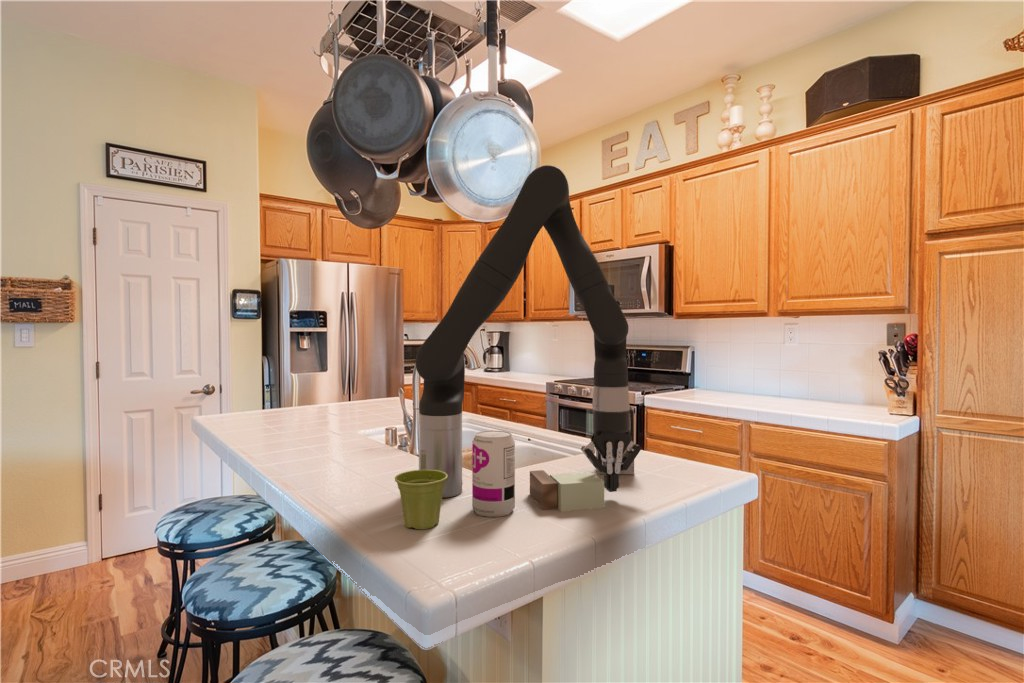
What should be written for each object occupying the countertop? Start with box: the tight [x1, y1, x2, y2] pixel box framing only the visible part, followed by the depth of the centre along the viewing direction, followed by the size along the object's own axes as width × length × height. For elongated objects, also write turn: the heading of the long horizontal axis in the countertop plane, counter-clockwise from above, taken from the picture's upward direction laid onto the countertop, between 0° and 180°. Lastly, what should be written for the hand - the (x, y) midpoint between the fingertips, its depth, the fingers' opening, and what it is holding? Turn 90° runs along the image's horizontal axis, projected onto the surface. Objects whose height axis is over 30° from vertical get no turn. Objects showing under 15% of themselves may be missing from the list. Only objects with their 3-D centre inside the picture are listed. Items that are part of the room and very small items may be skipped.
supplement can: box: [471, 429, 516, 518], centre depth 99 cm, size 8×8×15 cm
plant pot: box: [394, 469, 448, 530], centre depth 93 cm, size 9×9×9 cm
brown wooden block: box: [529, 469, 558, 510], centre depth 105 cm, size 3×10×5 cm, turn 13°
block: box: [549, 471, 605, 512], centre depth 104 cm, size 9×7×6 cm
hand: (611, 490), depth 107 cm, fingers closed
